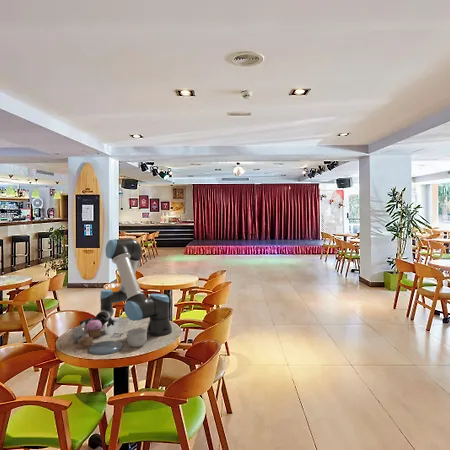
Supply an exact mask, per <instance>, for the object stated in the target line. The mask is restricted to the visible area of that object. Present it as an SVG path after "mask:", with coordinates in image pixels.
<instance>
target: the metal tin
mask: <svg viewBox="0 0 450 450" xmlns="http://www.w3.org/2000/svg"><path fill="white" fill-rule="evenodd" d="M85 328H86V327H81V326H77V327H74V328H73V344H74V345H78V340H79V339H80V338H82V337H86V336H85V335H86V332H85V330H86V329H85Z"/></svg>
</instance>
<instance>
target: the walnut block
mask: <svg viewBox="0 0 450 450" xmlns="http://www.w3.org/2000/svg"><path fill="white" fill-rule="evenodd" d="M93 340H94V338H93V337H90V336H85V337H82V338H80V339H79V340H78V344H77V349H89V347H90V346H91V345H93V344H94V341H93Z"/></svg>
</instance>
